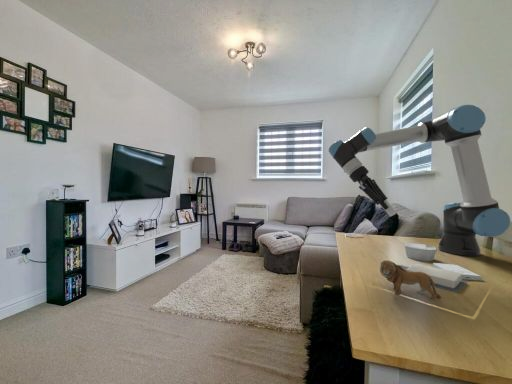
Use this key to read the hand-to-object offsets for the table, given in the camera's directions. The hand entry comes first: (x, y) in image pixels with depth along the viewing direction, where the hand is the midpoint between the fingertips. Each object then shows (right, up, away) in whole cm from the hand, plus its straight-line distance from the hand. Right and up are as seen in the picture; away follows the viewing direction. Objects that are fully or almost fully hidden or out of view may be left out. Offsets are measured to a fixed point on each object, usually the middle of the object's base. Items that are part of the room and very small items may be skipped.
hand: (393, 214), depth 96 cm
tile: (-3, -17, -15) cm, 23 cm away
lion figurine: (-14, -20, -31) cm, 39 cm away
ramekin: (+14, -19, +5) cm, 24 cm away
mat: (-1, -19, -18) cm, 26 cm away
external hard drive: (+13, -19, -14) cm, 27 cm away
